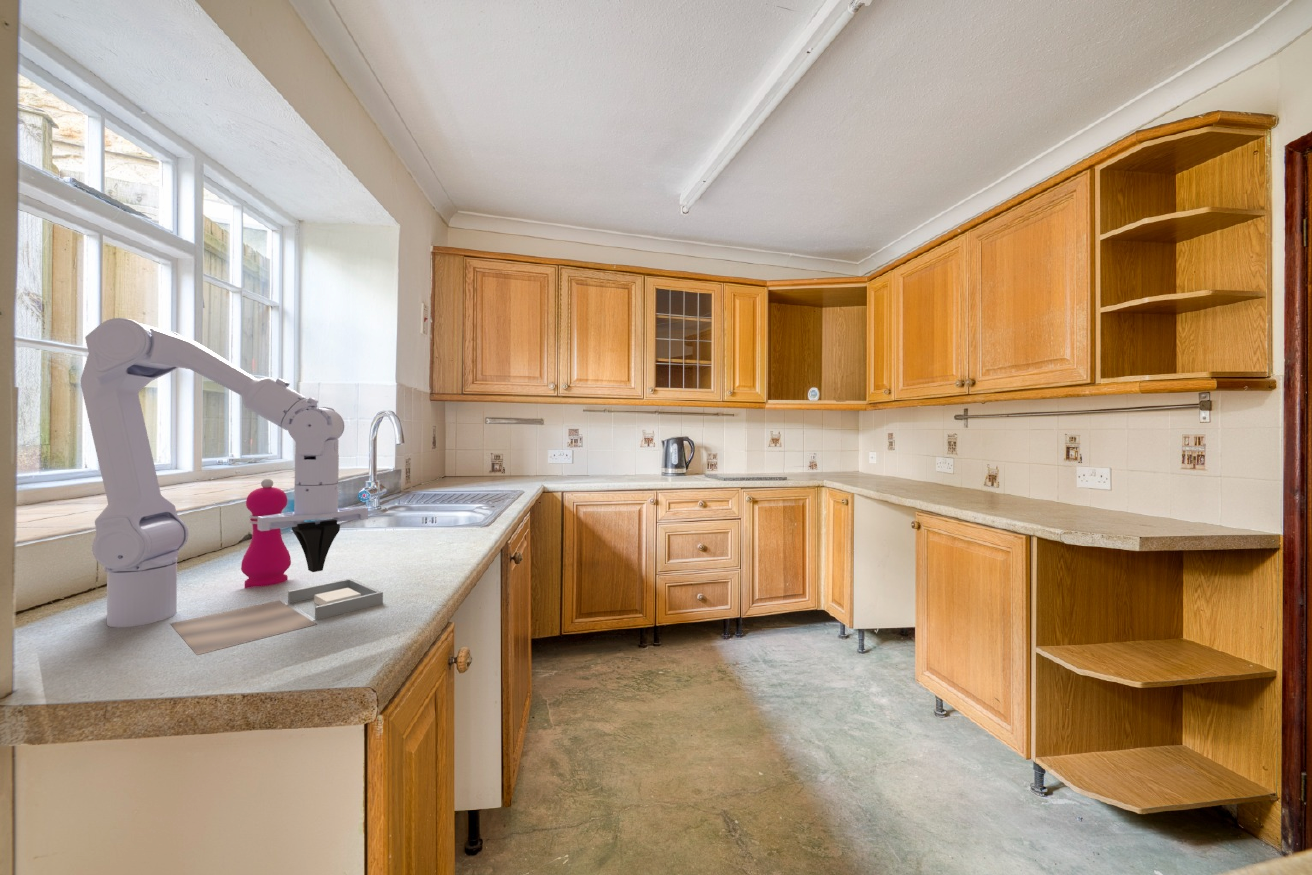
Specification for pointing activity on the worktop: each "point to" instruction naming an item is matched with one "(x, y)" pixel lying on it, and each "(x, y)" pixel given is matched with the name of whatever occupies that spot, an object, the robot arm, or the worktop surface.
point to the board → (239, 626)
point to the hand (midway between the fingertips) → (315, 570)
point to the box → (323, 611)
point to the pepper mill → (265, 539)
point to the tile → (335, 596)
